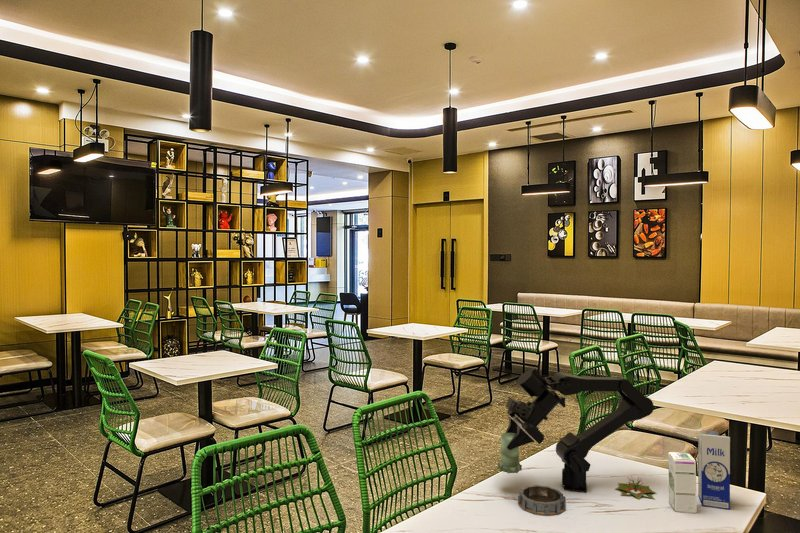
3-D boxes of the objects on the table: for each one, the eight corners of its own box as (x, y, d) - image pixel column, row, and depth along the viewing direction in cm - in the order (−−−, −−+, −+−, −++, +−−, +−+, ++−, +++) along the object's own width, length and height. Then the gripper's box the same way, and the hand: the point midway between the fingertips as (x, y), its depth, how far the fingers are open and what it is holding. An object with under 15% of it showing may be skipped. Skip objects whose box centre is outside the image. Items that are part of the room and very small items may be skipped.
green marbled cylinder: (522, 466, 163) (522, 433, 163) (520, 474, 156) (520, 440, 156) (499, 463, 165) (499, 431, 165) (496, 472, 158) (496, 438, 158)
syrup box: (697, 513, 145) (697, 460, 145) (673, 511, 146) (673, 458, 146) (690, 504, 151) (690, 452, 150) (667, 502, 152) (667, 451, 152)
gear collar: (565, 497, 155) (565, 487, 155) (565, 518, 143) (565, 507, 143) (520, 492, 159) (520, 482, 159) (516, 512, 147) (516, 501, 147)
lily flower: (654, 486, 163) (654, 471, 163) (661, 504, 152) (661, 488, 152) (611, 482, 167) (611, 467, 167) (615, 499, 155) (615, 483, 155)
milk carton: (701, 505, 150) (701, 434, 149) (697, 495, 156) (697, 426, 156) (730, 509, 147) (730, 436, 147) (725, 499, 153) (725, 429, 153)
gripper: (512, 381, 170) (478, 417, 169) (532, 396, 151) (494, 437, 150) (537, 405, 171) (503, 441, 170) (560, 423, 152) (522, 464, 151)
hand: (505, 445), depth 160 cm, fingers closed on green marbled cylinder, 5 cm apart
